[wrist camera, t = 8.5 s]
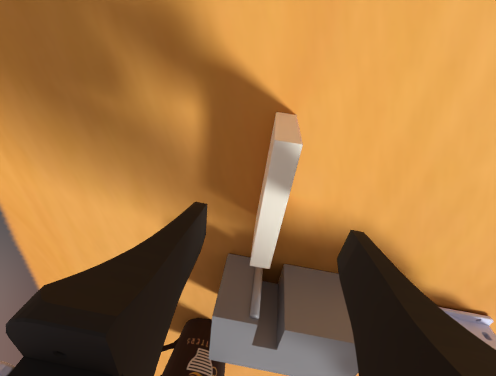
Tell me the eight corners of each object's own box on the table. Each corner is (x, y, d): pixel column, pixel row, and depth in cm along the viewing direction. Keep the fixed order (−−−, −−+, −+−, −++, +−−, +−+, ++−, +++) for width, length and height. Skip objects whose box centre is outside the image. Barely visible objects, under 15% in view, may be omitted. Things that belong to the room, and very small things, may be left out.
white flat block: (296, 114, 18) (302, 144, 13) (271, 218, 23) (269, 269, 18) (276, 111, 18) (274, 139, 13) (256, 216, 23) (249, 265, 18)
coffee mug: (247, 336, 35) (236, 432, 26) (208, 351, 38) (188, 439, 30) (185, 294, 31) (149, 390, 22) (149, 315, 35) (107, 403, 26)
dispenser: (358, 273, 25) (382, 344, 19) (332, 318, 30) (345, 386, 24) (228, 249, 26) (212, 312, 20) (222, 297, 30) (208, 359, 24)
